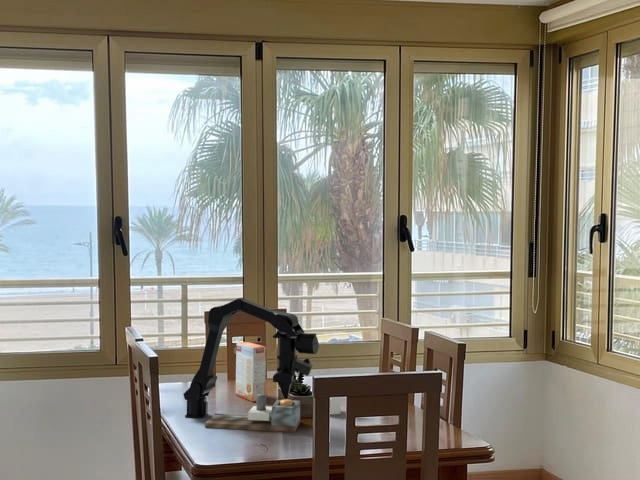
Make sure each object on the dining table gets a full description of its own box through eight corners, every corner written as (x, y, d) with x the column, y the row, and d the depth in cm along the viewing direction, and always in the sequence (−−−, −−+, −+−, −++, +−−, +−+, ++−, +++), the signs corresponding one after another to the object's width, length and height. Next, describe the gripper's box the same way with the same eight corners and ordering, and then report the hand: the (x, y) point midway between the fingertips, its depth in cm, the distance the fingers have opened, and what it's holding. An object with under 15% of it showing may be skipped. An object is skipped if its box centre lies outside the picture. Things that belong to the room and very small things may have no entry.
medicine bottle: (314, 411, 255) (315, 378, 255) (332, 409, 258) (333, 376, 258) (322, 416, 249) (323, 382, 249) (340, 414, 252) (341, 380, 251)
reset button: (279, 408, 233) (279, 402, 233) (281, 405, 237) (281, 399, 237) (291, 408, 233) (291, 402, 233) (293, 405, 237) (293, 399, 237)
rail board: (205, 427, 232) (205, 404, 232) (214, 417, 244) (214, 396, 244) (295, 431, 228) (295, 408, 228) (300, 421, 240) (300, 400, 240)
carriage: (247, 419, 232) (248, 397, 232) (253, 412, 241) (253, 391, 241) (268, 420, 231) (269, 398, 231) (273, 413, 240) (274, 392, 240)
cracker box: (266, 400, 270) (266, 346, 270) (252, 402, 266) (253, 347, 266) (248, 393, 281) (249, 341, 281) (234, 395, 278) (235, 342, 278)
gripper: (307, 357, 224) (306, 406, 225) (314, 348, 243) (313, 393, 243) (273, 356, 226) (272, 405, 226) (282, 347, 244) (281, 391, 244)
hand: (286, 398), depth 235 cm, fingers closed
